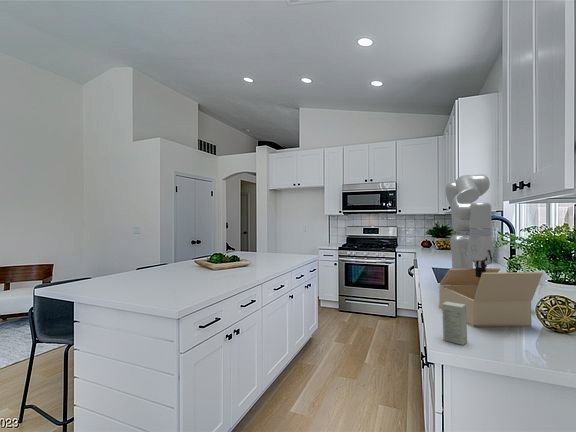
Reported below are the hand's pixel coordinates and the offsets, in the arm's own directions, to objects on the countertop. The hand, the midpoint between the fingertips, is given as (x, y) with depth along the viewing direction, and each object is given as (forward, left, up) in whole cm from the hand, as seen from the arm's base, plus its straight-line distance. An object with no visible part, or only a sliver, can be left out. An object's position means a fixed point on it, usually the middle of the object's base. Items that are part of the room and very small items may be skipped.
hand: (480, 277), depth 125 cm
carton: (0, 0, -16) cm, 16 cm away
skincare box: (+24, -25, -16) cm, 38 cm away
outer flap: (+15, 0, 0) cm, 15 cm away
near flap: (-8, 0, -2) cm, 8 cm away
